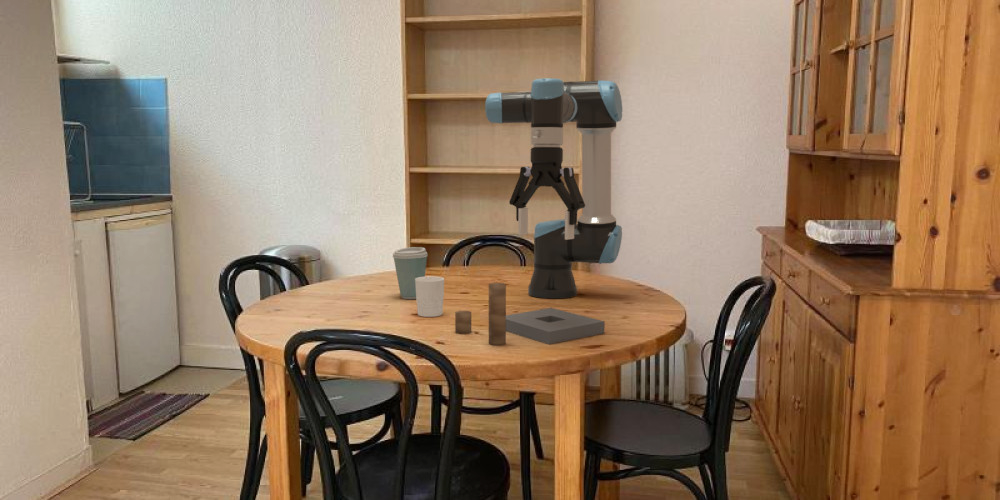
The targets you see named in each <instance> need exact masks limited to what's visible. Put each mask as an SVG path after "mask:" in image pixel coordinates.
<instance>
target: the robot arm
mask: <svg viewBox="0 0 1000 500" xmlns="http://www.w3.org/2000/svg"><path fill="white" fill-rule="evenodd" d="M530 89H531V90H522V91H511V92H510V91H509V92H501V91H500V92H494V93H493V92H492V93H490V94H488V95H487V97H486V99H485V102H484V103H485V104H484V105H485V106H484V109H485V116H486V119H487V121H488V122H489V123H491V124H501V125H502V124H521V123H522V124H523V123H525V124H526V123H527V124H530V145H531V146H533V147H531V149H530V163H531V166H521V167H520V171H519V176H518V177H519V178H517V182H516V184H515V187H514V190H513V192H512V194H511V196H510V199H509V205H510V206H513V207H515V211H516V213H515V214H516V215H515V216H516V218H515V219H516V221H517V223H518V224H517V225H518V226H517V227H518V233H517V234H518V236H527V235H528V234H529V233H528V231H529V228H528V226H529V225H528V224H529V207H527V204H528V203H529V201H530V200H531V198H533V196H534V195H535V193H536V191H538V188H540V187H549V188H550V187H552V188H553V189H554V190H555V192H556V193H557V195H558V196H559V197H560V199H561V201H562V202H563V204H564V205H565V207H566V208H567V209H566V210H565V211H564V219H553V220H546V221H541V222H537V223H536V225H535V226H534V236H533V256H534V257H533V271H532V275H531V278H530V282H529V285H528V289H527V291H528V293H527V294H528V295H529V296H531V297H535V298H541V299H567V298H568V299H569V298H573V297H576V296H577V295H578V287H577V284H576V280H575V277H574V273H573V270H572V263H585V264H586V263H587V264H599V265H601V264H612V263H615V261H616V260H617V258H618V257H619V253H620V249H621V244H622V238H623V231H622V230H623V228H622V226H621V225H619V224H617V218H616V217H615V216H614V215H613V213H612V133H613V132H614V131H615V130H616V128H617V123H618V122H621V120H622V118H623V102H622V96H621V91H620V88H619V86H618V84H617V83H616V82H615V81H612V80H602V79H601V80H600V79H599V80H585V81H584V80H583V81H582V80H581V81H580V80H579V81H577V80H576V81H564V80H562V79H561V78H553V77H551V78H550V77H549V78H548V77H546V78H536V79H534V80H533V81H532V82H531V88H530ZM569 122H572V123H573V122H574V123H576V130H577V131H579V132H580V134H581V189H582V192H581V191H580V189H579V185H578V184H577V180H576V179H575V178H576V177H575V171H574V168H573V167H564V168H563V167H562V164H563V161H564V149H563V147H561V146H563V145H564V124H565V123H569ZM531 176H532V177H531ZM530 177H531V179H530ZM561 177H563V179H564V182H563V180H562V178H561ZM529 180H530V181H529ZM565 185H566V186H565ZM580 209H582V211H581V212H582V213H581V215H580V216H579V217H578V211H579V210H580Z"/></svg>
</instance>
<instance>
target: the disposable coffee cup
mask: <svg viewBox="0 0 1000 500" xmlns="http://www.w3.org/2000/svg"><path fill="white" fill-rule="evenodd" d="M428 256H429V255H428V252H427V249H426V248H425V247H421V246H419V247H418V246H416V247H415V246H412V247H404V248H400V249H396V250H394V252H393V253H392V258H393V261H394V266H395V271H396V277H397V278H396V279H397V283H398V288H399V294H400V296H401V299H403V300H417V299H416V284H415V279H416V278H418V277H425V276H426V269H427V259H428Z"/></svg>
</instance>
